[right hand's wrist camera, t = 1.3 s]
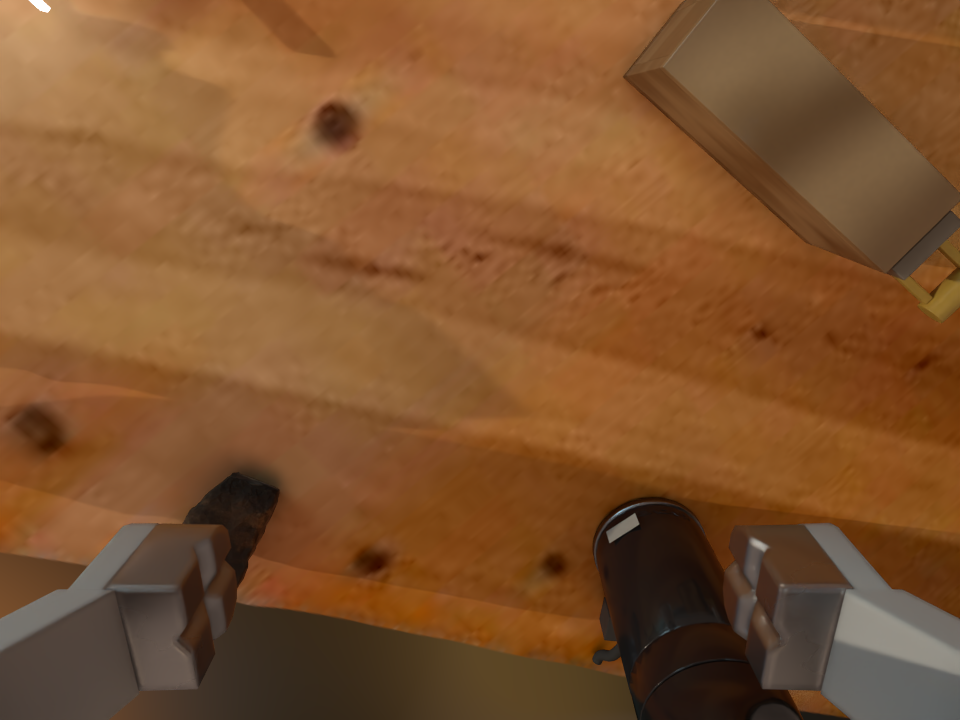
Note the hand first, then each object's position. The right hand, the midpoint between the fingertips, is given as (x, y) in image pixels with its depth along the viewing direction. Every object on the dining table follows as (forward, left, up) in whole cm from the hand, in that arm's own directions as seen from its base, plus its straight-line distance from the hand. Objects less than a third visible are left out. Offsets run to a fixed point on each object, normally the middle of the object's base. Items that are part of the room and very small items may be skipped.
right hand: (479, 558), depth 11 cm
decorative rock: (+15, -29, -38) cm, 50 cm away
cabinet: (+2, +19, -38) cm, 43 cm away
